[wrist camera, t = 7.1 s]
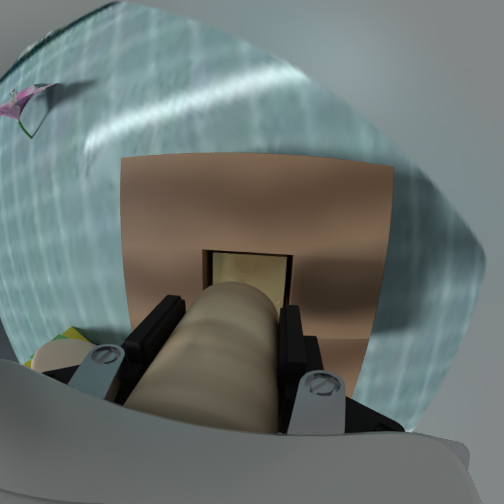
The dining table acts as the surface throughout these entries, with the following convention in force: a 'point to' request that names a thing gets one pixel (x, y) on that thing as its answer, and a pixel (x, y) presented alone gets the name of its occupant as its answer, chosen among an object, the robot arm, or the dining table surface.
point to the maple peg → (218, 363)
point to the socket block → (262, 236)
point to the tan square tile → (253, 272)
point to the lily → (19, 104)
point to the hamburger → (61, 352)
